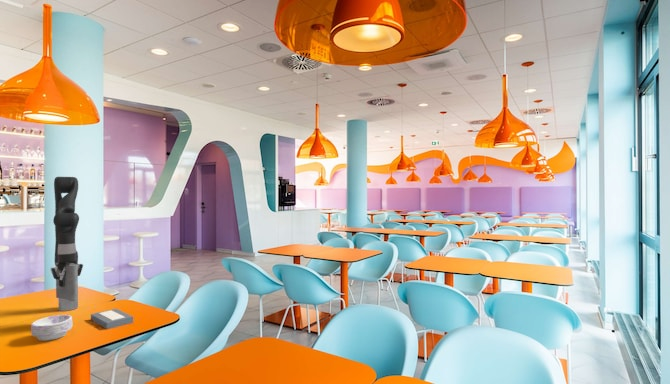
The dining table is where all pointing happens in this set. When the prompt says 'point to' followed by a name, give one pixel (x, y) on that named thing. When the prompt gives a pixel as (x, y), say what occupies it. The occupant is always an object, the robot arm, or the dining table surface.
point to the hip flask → (68, 283)
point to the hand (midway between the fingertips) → (67, 285)
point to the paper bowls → (51, 327)
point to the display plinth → (111, 318)
